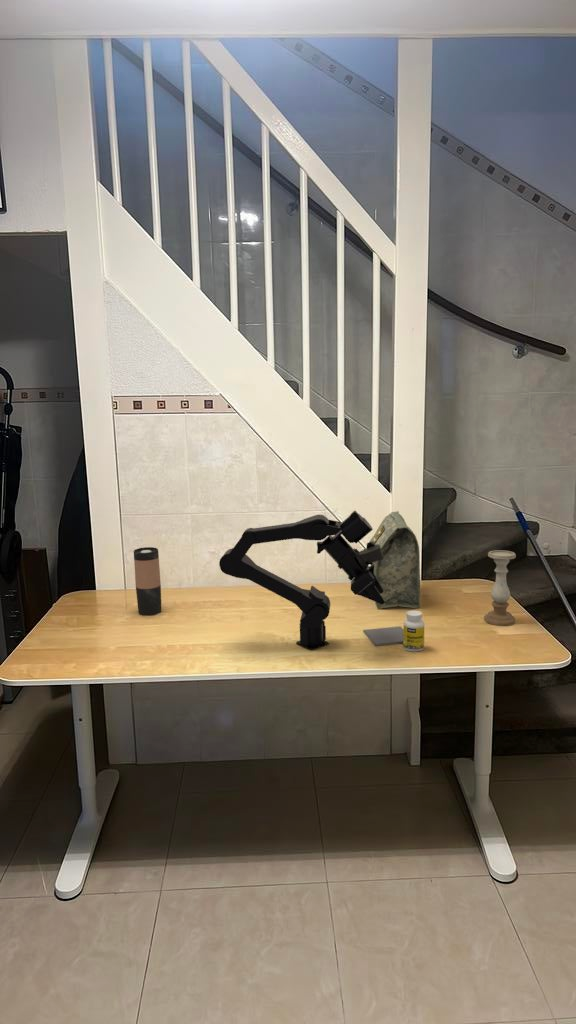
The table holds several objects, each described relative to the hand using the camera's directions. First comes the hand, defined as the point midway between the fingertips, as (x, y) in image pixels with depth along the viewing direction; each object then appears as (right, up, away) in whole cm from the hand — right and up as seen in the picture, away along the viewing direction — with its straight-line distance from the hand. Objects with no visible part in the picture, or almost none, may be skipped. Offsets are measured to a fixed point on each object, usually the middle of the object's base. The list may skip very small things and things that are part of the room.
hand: (383, 597), depth 182 cm
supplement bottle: (+8, -14, 0) cm, 16 cm away
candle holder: (+36, -9, +19) cm, 42 cm away
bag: (+9, -6, +41) cm, 43 cm away
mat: (+3, -12, +8) cm, 15 cm away
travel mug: (-68, -9, +35) cm, 77 cm away
